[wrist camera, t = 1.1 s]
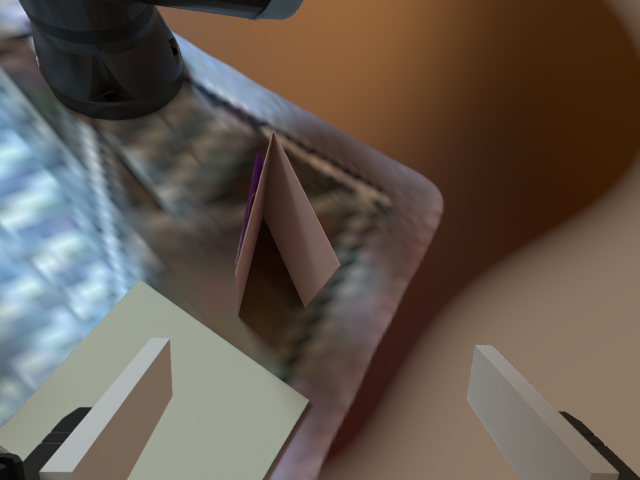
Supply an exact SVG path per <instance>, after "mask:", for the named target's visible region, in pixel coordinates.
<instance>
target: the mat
mask: <svg viewBox="0 0 640 480" xmlns="http://www.w3.org/2000/svg"><path fill="white" fill-rule="evenodd" d="M151 338H170V350H171V371H172V392H173V396H172V398H171V400H170V402H169V404H168V405H167V407H166V409H165V411H164V413H163V415H162V416H161V418H160V420H159V422H158V424H157V426H156V427H155V429H154V431H153V433H152V435H151V437H150V438H149V440H148V442H147V444H146V446H145V448H144V449H143V451H142V453H141V455H140V457H139V459H138V461H137V462H136V464H135V466H134V468H133V470H132V472H131V473H130V475H129V477H128V479H127V480H262V479H263V478H264V476H265V474H266V473H267V471H268V469H269V468H270V466H271V464H272V463H273V461H274V459H275V457H276V456H277V454H278V452H279V451H280V449H281V447H282V446H283V444H284V442H285V441H286V439H287V437H288V435H289V434H290V432H291V430H292V429H293V427H294V425H295V424H296V422H297V420H298V419H299V417H300V415H301V414H302V412H303V410H304V408H305V407H306V405H307V403H308V402H309V400H308V399H306V398H305V397H304V396H302V395H301V394H299V393H298V392H297V391H295V390H294V389H292V388H291V387H290V386H288V385H287V384H285V383H284V382H283V381H281V380H280V379H278V378H277V377H276V376H274V375H273V374H271V373H270V372H269V371H267V370H266V369H264V368H263V367H262V366H260V365H259V364H257V363H256V362H255V361H253V360H252V359H250V358H249V357H248V356H246V355H245V354H243V353H242V352H241V351H239V350H238V349H236V348H235V347H234V346H232V345H231V344H229V343H228V342H227V341H225V340H224V339H222V338H221V337H220V336H218V335H217V334H215V333H214V332H213V331H211V330H210V329H208V328H207V327H206V326H204V325H203V324H201V323H200V322H199V321H197V320H196V319H194V318H193V317H192V316H190V315H189V314H187V313H186V312H185V311H183V310H182V309H180V308H179V307H178V306H176V305H175V304H173V303H172V302H171V301H169V300H168V299H166V298H165V297H164V296H162V295H161V294H159V293H158V292H157V291H155V290H154V289H152V288H151V287H150V286H148V285H147V284H145V283H144V282H143V281H141V280H139V281H138V282H137V283H136V284H135V285H134V286H133V287H132V288H131V289H130V291H129V292H128V293H127V294H126V295H125V296H124V297H123V298H122V299H121V300H120V301H119V302H118V303H117V304H116V305H115V307H114V308H113V309H112V310H111V311H110V312H109V313H108V314H107V315H106V316H105V317H104V318H103V319H102V320H101V322H100V323H99V324H98V325H97V326H96V327H95V328H94V329H93V330H92V331H91V332H90V333H89V334H88V335H87V336H86V338H85V339H84V340H83V341H82V342H81V343H80V344H79V345H78V346H77V347H76V348H75V349H74V350H73V351H72V352H71V354H70V355H69V356H68V357H67V358H66V359H65V360H64V361H63V362H62V363H61V364H60V365H59V366H58V367H57V369H56V370H55V371H54V372H53V373H52V374H51V375H50V376H49V377H48V378H47V379H46V380H45V381H44V382H43V383H42V385H41V386H40V387H39V388H38V389H37V390H36V391H35V392H34V393H33V394H32V395H31V396H30V397H29V398H28V399H27V401H26V402H25V403H24V404H23V405H22V406H21V407H20V408H19V409H18V410H17V411H16V412H15V413H14V414H13V416H12V417H11V418H10V419H9V420H8V421H7V422H6V423H5V424H4V425H3V426H2V427H1V428H0V445H1V446H2V447H3V448H4V449H6V450H7V451H8V452H10V453H12V454H16V455H19V457H20V458H21V460H22V462H23V461H24V460H25V459H26V458H27V456H28V455H29V454H30V453H31V452H32V451H33V450H34V449H35V448H36V447H37V446H38V445H39V444H41V442H42V440H43V439H44V438H45V437H46V436H47V435H48V434H49V433H51V430H52V429H53V428H54V427H55V426H56V425H57V424H58V423H59V422H60V421H61V419H62V418H63V417H65V416H67V415H68V414H70V413H71V412H73V411H74V410H76V409H77V408H79V407H94V406H95V404H96V403H97V402H98V401H99V400H100V398H101V397H102V396H103V395H104V394H105V392H106V391H107V390H108V389H109V388H110V386H111V385H112V384H113V383H114V382H115V380H116V379H117V378H118V377H119V376H120V374H121V373H122V372H123V371H124V370H125V369H126V367H127V366H128V365H129V364H130V363H131V361H132V360H133V359H134V358H135V357H136V355H137V354H138V353H139V352H140V351H141V349H142V348H143V347H144V346H145V345H146V343H147V342H148V341H149V340H150V339H151Z"/></svg>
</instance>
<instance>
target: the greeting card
mask: <svg viewBox="0 0 640 480" xmlns="http://www.w3.org/2000/svg"><path fill="white" fill-rule="evenodd" d="M263 217H264V219H265V221H266V223H267V225H268V228H269V230H270V232H271V234H272V237H273V239H274V241H275V243H276V245H277V248H278V250H279V252H280V254H281V256H282V259H283V261H284V263H285V265H286V267H287V270H288V272H289V274H290V276H291V279H292V281H293V283H294V285H295V287H296V290H297V292H298V294H299V296H300V298H301V301H302V303H303V305H304V307H305V308H306V307H307V306H308V304H309V303H310V302H311V301H312V299H313V298H314V297H315V296H316V295H317V293H318V292H319V291H320V290H321V288H322V287H323V286H324V285H325V284H326V282H327V281H328V280H329V279H330V277H331V276H332V275H333V274H334V273H335V271H336V270H337V269H338V268H339V266H340V263H339V261H338V259H337V257H336V255H335V253H334V251H333V249H332V247H331V245H330V243H329V241H328V239H327V237H326V235H325V233H324V231H323V229H322V227H321V225H320V223H319V221H318V219H317V217H316V215H315V213H314V211H313V209H312V207H311V205H310V203H309V201H308V199H307V197H306V194H305V192H304V190H303V188H302V186H301V184H300V182H299V180H298V178H297V176H296V174H295V172H294V170H293V168H292V166H291V164H290V162H289V160H288V158H287V156H286V154H285V152H284V150H283V148H282V146H281V144H280V142H279V140H278V138H277V136H276V134H275V132H274V130H273V132H272V136H271V139H270V143H269V147H268V151H267V154H266V158H265V162H264V163H263V161H262V158H261V156H260V154H259V152H258V151H257V156H256V161H255V166H254V171H253V176H252V181H251V186H250V191H249V196H248V201H247V206H246V211H245V217H244V222H243V227H242V232H241V237H240V242H239V247H238V252H237V257H236V262H235V264H236V267H237V268H236V272H235V282H236V297H237V311H238V315H239V311H240V306H241V302H242V298H243V294H244V290H245V286H246V282H247V278H248V274H249V270H250V266H251V262H252V258H253V254H254V250H255V246H256V242H257V238H258V234H259V230H260V226H261V222H262V218H263Z"/></svg>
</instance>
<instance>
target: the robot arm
mask: <svg viewBox="0 0 640 480" xmlns="http://www.w3.org/2000/svg"><path fill="white" fill-rule="evenodd" d="M19 2H20V4H21V5H22V7H23V9H24V11H25V12H26V14H27V16H28V18H29V19H30V24H31V30H32V35H33V41H34V46H35V51H36V57H37V63H38V66H39V69H40V71H41V74H42V76H43V77H44V79H45V81H46V82H47V84H48V85H49V87H50V88H51V90H52V91H53V93H54V94H55V95H56V97H57V98H58V99H59V100H60V101H62V102H63V103H64V104H65V105H67V106H68V107H70V108H72V109H73V110H75V111H77V112H80V113H82V114H85V115H88V116H91V117H96V118H101V119H111V120H120V119H130V118H136V117H140V116H144V115H147V114H149V113H152V112H154V111H156V110H158V109H160V108H161V107H163V106H164V105H166V104H167V103H168V102H169V101H170V100H171V99H172V98H173V97H174V96H175V95H176V94H177V92H178V91H179V89H180V87H181V84H182V81H183V77H184V67H183V61H182V56H181V51H180V48H179V45H178V43H177V41H176V39H175V37H174V36H173V34H172V32H171V31H170V29H169V27H168V26H167V24H166V23H165V21H164V19H163V18H162V16H161V14H160V12H159V11H158V10H157V7H156V6H155V5H157V6H165V7H172V8H178V9H186V10H193V11H200V12H207V13H213V14H221V15H227V16H234V17H241V18H248V19H250V20H259V19H276V20H282V19H287V18H289V17H291V16H292V15H293V14H294V13H295V12H296V11H297V10H298V9H299V7H300V6H301V3H302V2H303V0H19ZM172 396H173V392H172V371H171V350H170V338H151V339H150V340H149V341H148V342H147V343H146V345H145V346H144V347H143V348H142V349H141V351H140V352H139V353H138V354H137V355H136V357H135V358H134V359H133V360H132V361H131V363H130V364H129V365H128V366H127V367H126V369H125V370H124V371H123V372H122V373H121V374H120V376H119V377H118V378H117V379H116V380H115V382H114V383H113V384H112V385H111V386H110V388H109V389H108V390H107V391H106V392H105V394H104V395H103V396H102V397H101V398H100V400H99V401H98V402H97V403H96V404H95V406H94V407H79V408H77V409H76V410H74V411H73V412H71V413H70V414H68V415H67V416H65V417H63V418H62V419H61V421H60V422H59V423H58V424H57V425H56V426H55V427H54V428H53V429H52V430H51V433H49V434H48V435H47V436H46V437H45V438H44V439H43V440H42V442H41V444H39V445H38V446H37V447H36V448H35V449H34V450H33V451H32V452H31V453H30V454H29V455H28V456H27V458H26V459H25V460H24V461H23V462H22V460H21V458H20V457H19V455H16V454H12V453H4V454H0V480H127V479H128V477H129V475H130V473H131V472H132V470H133V468H134V466H135V464H136V462H137V461H138V459H139V457H140V455H141V453H142V451H143V449H144V448H145V446H146V444H147V442H148V440H149V438H150V437H151V435H152V433H153V431H154V429H155V427H156V426H157V424H158V422H159V420H160V418H161V416H162V415H163V413H164V411H165V409H166V407H167V405H168V404H169V402H170V400H171V398H172ZM466 400H467V402H468V403H469V405H470V406H471V408H472V409H473V411H474V412H475V413H476V415H477V417H478V418H479V420H480V421H481V423H482V424H483V426H484V427H485V429H486V430H487V431H488V433H489V434H490V436H491V437H492V439H493V441H494V442H495V444H496V445H497V447H498V448H499V449H500V451H501V453H502V454H503V455H504V457H505V458H506V460H507V461H508V463H509V464H510V466H511V467H512V469H513V470H514V472H515V473H516V475H517V476H518V478H519V479H520V480H640V478H639V477H638V476H637V475H636V474H635V473H634V472H633V471H632V470H631V469H630V468H629V467H628V466H627V465H626V464H625V463H624V462H623V461H622V460H621V459H619V457H617V456H616V455H615V454H614V453H613V452H612V451H611V450H610V449H609V448H608V447H607V446H604V443H603V442H602V441H601V440H600V439H599V438H598V437H596V436H594V434H593V433H592V432H591V431H590V430H589V429H588V428H587V427H586V426H585V425H584V424H583V423H582V422H581V421H579V420H577V419H576V418H574V417H573V416H571V415H570V414H568V413H566V412H558V411H557V410H556V409H555V408H554V407H553V406H552V405H551V404H550V403H549V402H548V401H547V400H546V399H545V398H544V397H543V396H542V395H541V394H540V393H539V392H538V391H537V390H536V389H535V388H534V387H533V386H532V385H531V384H530V383H529V382H528V381H527V380H526V379H525V378H524V377H523V376H522V375H521V374H520V373H519V372H518V371H517V370H516V369H515V368H514V367H513V366H512V365H511V364H510V363H509V362H508V361H507V360H506V359H505V358H504V357H503V356H502V355H501V354H500V353H499V352H498V351H497V350H496V349H495V348H494V347H493V346H492V345H475V347H474V354H473V360H472V367H471V373H470V380H469V386H468V392H467V399H466Z"/></svg>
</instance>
